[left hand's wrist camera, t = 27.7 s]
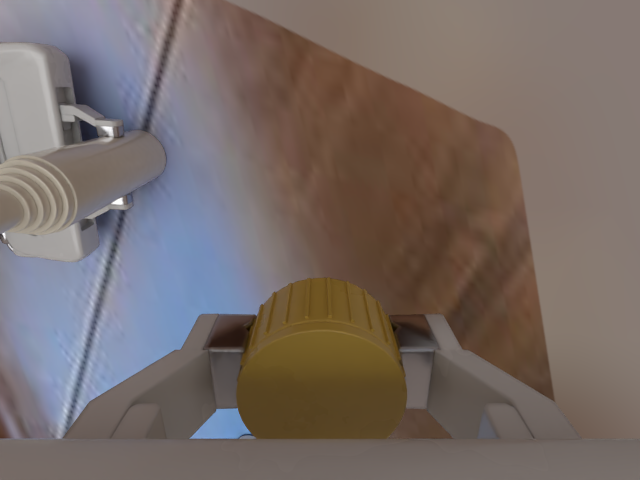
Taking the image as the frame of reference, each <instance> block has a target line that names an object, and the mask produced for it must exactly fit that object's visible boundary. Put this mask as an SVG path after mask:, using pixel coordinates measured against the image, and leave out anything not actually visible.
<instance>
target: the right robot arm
mask: <svg viewBox="0 0 640 480" xmlns="http://www.w3.org/2000/svg"><path fill="white" fill-rule="evenodd" d="M79 121H86V122H87V123H89V124H91V125H93V126H94V127H96V129H97V134H98V136H100V137H106V136H109V137H121V136H124V126H123V120H121V119H107V118H105V117H104V116H103V115H101V114H100V113H98V112H97V111H95V110H93V109H92V108H90V107H89V106H87V105H80V104H76V99H75V93H74V87H73V81H72V75H71V69H70V63H69V59H68V57H67V55H66V54H64V53H63V52H62V51H61V50H59V49H58V48H57V47H55V46H52V45H46V44H38V43H25V42H1V43H0V164H1V163H3V162H4V161H6V160H8V159H9V158H12V157H15V156H19V155H23V154H28V153H32V152H36V151H41V150H45V149H50V148H54V147H59V146H63V145H67V144H72V143H76V142H81V141H82V135H81V129H80V123H79ZM131 207H133V198H132V192H131V193H129V194H127V195H125V196H124V197H122V198H120V199H118V200H116V201H115V202H113V203H111V204H109V205H107V206H106V207H104V208H102V209H100V210H98V211H97V212H95V213H93V214H91V215H89V216H88V217H86V218H84V219H82V220H80V221H79V222H77V223H75V224H73V225H71V226H70V227H68V228H66V229H64V230H62V231H60V232H56V233H50V234H46V235H33V234H23V233H14V232H4V233H2V234H0V239H1V241H2V243H4V244H7V245H8V247H9V248H10V249H11V250H12V251H13V252H14V254H15V255H17V256H21V257H39V258H44V259H50V260H56V261H63V262H78V261H80V260H82V259H84V258H86V257H87V256H89V255H90V254H91V253H92V252H93V251H94V250H95V249H97V248H98V246H99V237H98V231H97V225H96V219H95V217H97V216H99V215H101V214H103V213H104V212H106V211H108V210H110V209H117V210H126V209H129V208H131Z"/></svg>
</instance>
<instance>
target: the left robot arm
mask: <svg viewBox="0 0 640 480" xmlns="http://www.w3.org/2000/svg"><path fill="white" fill-rule="evenodd" d="M388 316H389V320H390V323H391V326H392V329H393V333H394V336H395V340H396V343H397V346H398V350H399V353H400V356H401V360H400V364H401V366H403V367H404V370H405V374H406V377H404V378H405V381H406V386H407V404H406V408H415V409H427V411H428V412H429V413H430V414H431V415H432V416H433V417H434V418H435V419H436V420H437V421H438V423H439V424H440V425H441V426H442V427H443V428H444V429H445V430H446V431H447V432H448V433H449V434H450V435H451V436H452V437H453V438H454V439H256V438H255V437H254V436H250V435H244V436H241V437H240V438H239V439H189V438H190V437H191V436H192V435H193V434H194V433H195V432H196V431H197V430H198V429H199V428H200V427H201V426H202V425H203V424H204V423H205V422H206V421H207V420H208V419H209V418H210V417H211V416H212V414H213V413H214V412H215V411H216V409H228V408H238V407H237V402H236V389H237V383H238V382H237V378H238V374H239V371H241V369H242V365H240V362H241V359H242V355H243V353H245V350H246V347H247V343H248V340H249V337H250V336H249V331H250V328H251V326H253V322H254V319H256V315H247V314H201V315H199V317H198V319H197V320H196V322H195V324H194V326H193V328H192V330H191V332H190V333H189V335H188V337H187V339H186V341H185V343H184V345H183V346H182V348H181V350H174V351H173V352H171V353H169V354H168V355H166V356H164V357H163V358H161V359H159V360H158V361H156V362H154V363H153V364H151V365H149V366H148V367H146V368H144V369H143V370H141V371H139V372H138V373H136V374H135V375H133V376H131V377H130V378H128V379H126V380H125V381H123V382H121V383H120V384H118V385H116V386H115V387H113V388H111V389H110V390H108V391H106V392H105V393H103V394H101V395H100V396H98V397H96V398H95V399H93V400H91V401H90V402H89V403H88V404H87V406H86V407H85V409H84V410H83V411H82V413H81V414H80V415H79V417H78V418H77V419H76V421H75V422H74V423H73V425H72V426H71V427H70V429H69V430H68V432H67V433H66V434H65V436H64V437H63V438H62V439H0V480H640V439H582V438H581V436H580V435H579V434H578V432H577V431H576V430H575V428H574V427H573V426H572V424H571V423H570V422H569V420H568V419H567V418H566V416H565V415H564V414H563V412H562V411H561V410H560V408H559V407H558V406H557V404H556V403H555V402H554V401H552V400H550V399H549V398H547V397H545V396H544V395H542V394H540V393H539V392H537V391H535V390H534V389H532V388H531V387H529V386H527V385H526V384H524V383H522V382H521V381H519V380H517V379H516V378H514V377H512V376H511V375H509V374H507V373H506V372H504V371H502V370H501V369H499V368H497V367H496V366H494V365H492V364H491V363H489V362H487V361H486V360H484V359H482V358H481V357H479V356H477V355H476V354H474V353H472V352H471V351H469V350H462V348H461V346H460V345H459V343H458V341H457V339H456V337H455V336H454V334H453V332H452V330H451V328H450V327H449V325H448V323H447V321H446V319H445V318H444V316H443V315H442V314H419V315H388Z"/></svg>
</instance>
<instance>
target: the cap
mask: <svg viewBox="0 0 640 480" xmlns="http://www.w3.org/2000/svg"><path fill="white" fill-rule="evenodd" d="M249 336H250V337H249V340H248V343H247V347H246V350H245V353H243V355H242V359H241V362H240V365H242V369H241V371H239V374H238V378H237V382H238V383H237V389H236V402H237V407H238V411H239V414H240V416H241V419H242V421H243V422H244V424H245V426H246V427H247V429H248V430H249V431H250V432H251V434H252V435H253V436H254V437H255V438H256V439H387V438H388V437H389V436H390V435H391V434H392V433H393V432H394V430H395V429H396V428H397V426H398V425H399V423H400V421H401V419H402V417H403V415H404V412H405V409H406V404H407V386H406V381H405V378H404V377H406V374H405V370H404V367H403V366H401V364H400V360H401V356H400V353H399V350H398V346H397V343H396V340H395V336H394V333H393V329H392V326H391V323H390V320H389V316H388V314H387V315H385V313H384V311H383V309H382V308H381V305H380V302H379V301H376V300H375V299H374V298H373V297H372V296H371V295H369V294H368V293H367V291H366V290H365V289H363V290H362V289H361V288H359V287H357V286H356V285H354V284H350V283H349V282H348V281H346V282H345V281H341V280H337V279H330V278H328V277H327V278H313V279H310V278H307V279H306V280H302V281H297V282H295V283H290V284H288V286H286V287H284V288H282V289H281V290H279V291H278V292H276V293H275V292H274V293H272V296H271V297H270V298H269V299H268V300H267V301H266V302H265V303H264V305H263V304H261V306H260V308H259V312H258V314H257V317H256V319H254V322H253V326H251V328H250V331H249Z"/></svg>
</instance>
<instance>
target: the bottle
mask: <svg viewBox="0 0 640 480" xmlns="http://www.w3.org/2000/svg"><path fill="white" fill-rule="evenodd" d="M165 165H166V155H165V151H164V148H163V147H162V145H161V143H160V142H159V141H158V140H157V139H156V138H155V137H154V136H153V135H151V134H150V133H148V132H145V131H142V130H129V131H125V132H124V136H121V137H109V136H106V137H98V138H94V139H89V140H85V141H81V142H76V143H72V144H67V145H63V146H59V147H54V148H50V149H45V150H41V151H36V152H32V153H28V154H23V155H19V156H15V157H12V158H9V159H8V160H6V161H4V162H3V163H1V164H0V234H2V233H4V232H14V233H23V234H33V235H46V234H50V233H56V232H60V231H62V230H64V229H66V228H68V227H70V226H71V225H73V224H75V223H77V222H79V221H80V220H82V219H84V218H86V217H88V216H89V215H91V214H93V213H95V212H97V211H98V210H100V209H102V208H104V207H106V206H107V205H109V204H111V203H113V202H115V201H116V200H118V199H120V198H122V197H124V196H125V195H127V194H129V193H131V192H133V191H134V190H136V189H138V188H140V187H142V186H143V185H145V184H147V183H149V182H151V181H152V180H154V179H156V178H158V177H159V176H160V175H161V174H162V172H163V171H164V169H165Z"/></svg>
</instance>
